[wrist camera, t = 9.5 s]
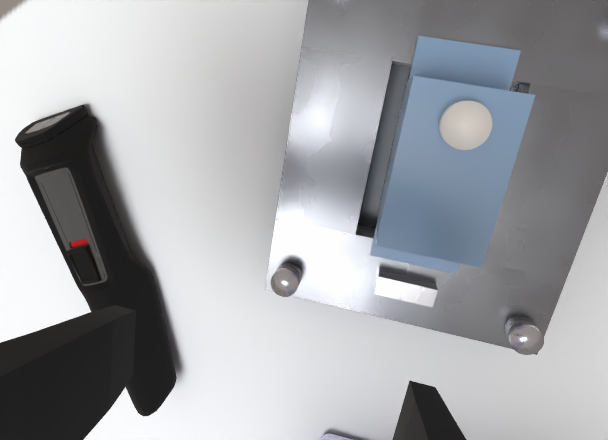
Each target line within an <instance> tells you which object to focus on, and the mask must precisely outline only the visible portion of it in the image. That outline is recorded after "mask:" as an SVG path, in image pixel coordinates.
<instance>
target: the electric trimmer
mask: <svg viewBox="0 0 608 440" xmlns="http://www.w3.org/2000/svg"><path fill="white" fill-rule="evenodd" d="M86 114H87V111H86V109H85V107H84V105H81V106H78V107H75V108H72V109H69V110H66V111H64V112H61V113H58V114H55V115H52V116H49V117H46V118H43V119H41V120H38V121H36V122H33V123H31V124H30V125H28V126H27V127H25V128H24V129H23V130H22V131H21V132H20V133H19V134H18V135H17V137H16V139H15V142H16V143H17V144H18V145H19V146H20V147H22V151H21V161H20V166H21V168H22V170H23V172H24V174H25V175H26V177H27V180H28V182H29V184H30V186H31V189H32V191H33V193H34V195H35V197H36V199H37V201H38V203H39V206H40V208H41V210H42V212H43V214H44V216H45V218H46V220H47V223H48V225H49V227H50V229H51V231H52V233H53V235H54V238H55V240H56V242H57V244H58V246H59V248H60V250H61V252H62V255H63V257H64V259H65V261H66V263H67V265H68V267H69V269H70V272H71V274H72V276H73V278H74V280H75V282H76V284H77V286H78V288H79V289H80V291H81V293H82V294H83V296H84V297H85V299H86V301H87V303H88V305H89V307H90V310H91V312H94V311H97V310H100V309H103V308H106V307H110V306H114V305H117V306H121V307H125V308H129V309H132V310H136V324H135V344H134V363H133V376H132V377H131V379H130V380H129V382H128V383H127V385H126V386H125V387H126V389H127V391H128V393H129V395H130V398H131V400H132V402H133V404H134V406H135V408H136V410H137V411H138V413H139V414H140V415H142V416H149V415H151V414H152V413H154V412H155V411H157V409H158V408H159V407H160V406H161V405H162V403H163V402H164V401H165V399H166V398H167V396H168V395H169V393H170V392H171V390H172V389H173V388H174V385H175V382H176V373H175V368H174V363H173V359H172V355H171V351H170V346H169V342H168V338H167V334H166V329H165V325H164V321H163V317H162V312H161V308H160V304H159V300H158V296H157V292H156V289H155V285H154V281H153V277H152V275H151V273H150V271H149V270H148V269H147V268H145V267H144V266H143V265H142V264H140V263H139V262H138V261H137V260H135V259H134V258H132V254H131V252H130V249H129V246H128V244H127V241H126V238H125V235H124V233H123V230H122V227H121V224H120V222H119V219H118V216H117V214H116V211H115V208H114V205H113V203H112V200H111V197H110V195H109V192H108V189H107V186H106V184H105V181H104V178H103V175H102V173H101V170H100V167H99V165H98V162H97V159H96V156H95V154H94V151H93V148H92V146H91V141H92V138H93V135H94V133H95V130H96V128H97V122H96V118H94V117H91V116H88V115H86ZM64 130H65V131H64Z"/></svg>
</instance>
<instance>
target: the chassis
mask: <svg viewBox="0 0 608 440" xmlns="http://www.w3.org/2000/svg"><path fill="white" fill-rule="evenodd" d="M418 36H425V37H432V38H438V39H445V40H452V41H459V42H466V43H472V44H479V45H486V46H493V47H500V48H507V49H513V50H520V51H521V52H520V56H519V59H518V63H517V66H516V69H515V73H514V76H513V80H512V83H513V84H519V86H518V89H517V92H520V93H526V94H532V95H535V98H534V102H533V105H532V108H531V111H530V114H529V118H528V121H527V124H526V127H525V131H524V134H523V137H522V140H521V144H520V147H519V150H518V153H517V156H516V160H515V163H514V166H513V169H512V173H511V176H510V179H509V182H508V185H507V189H506V192H505V195H504V198H503V202H502V205H501V208H500V211H499V215H498V218H497V221H496V224H495V227H494V231H493V234H492V237H491V240H490V244H489V247H488V250H487V253H486V257H485V260H484V263H483V266H482V268H479V267H474V266H470V265H465V264H460V263H459V265H458V269H457V272H456V274H454V273H450V272H445V271H440V270H436V269H431V268H426V267H422V266H417V265H413V264H408V263H403V262H399V261H394V260H389V259H385V258H380V257H376V256H371V255H370V251H371V247H372V242H373V238H374V233H375V228H370V227H366V226H361V225H358V220H359V216H360V211H361V206H362V202H363V197H364V192H365V188H366V183H367V178H368V174H369V169H370V164H371V160H372V155H373V150H374V146H375V141H376V136H377V132H378V127H379V122H380V118H381V113H382V108H383V103H384V99H385V94H386V89H387V85H388V80H389V75H390V71H391V66H392V64H396V65H402V66H409V67H411V66H412V61H413V57H414V52H415V48H416V43H417V39H418ZM607 172H608V0H309V2H308V9H307V15H306V22H305V28H304V35H303V42H302V48H301V55H300V61H299V68H298V74H297V81H296V88H295V94H294V101H293V107H292V114H291V121H290V127H289V134H288V140H287V147H286V153H285V160H284V167H283V173H282V180H281V186H280V193H279V200H278V206H277V213H276V219H275V226H274V233H273V239H272V246H271V252H270V259H269V265H268V272H267V279H266V285H265V290H269V291H274V292H275V293H276V294H278V295H280V296H283V297H288V296H294V297H299V298H303V299H307V300H311V301H315V302H319V303H324V304H328V305H332V306H336V307H340V308H344V309H349V310H353V311H357V312H361V313H365V314H369V315H374V316H378V317H382V318H386V319H390V320H394V321H399V322H403V323H407V324H411V325H415V326H419V327H424V328H428V329H432V330H436V331H440V332H444V333H449V334H453V335H457V336H461V337H465V338H469V339H474V340H478V341H482V342H486V343H490V344H494V345H499V346H503V347H507V348H511V349H514V350H515V351H517V352H518V353H520V354H524V355H530V354H536V355H537V354H538V351H539V350H540V349H541V348H542V346H543V344H544V335H545V333H546V330H547V328H548V325H549V322H550V320H551V317H552V315H553V312H554V309H555V307H556V304H557V302H558V299H559V296H560V294H561V291H562V289H563V286H564V283H565V281H566V278H567V276H568V273H569V270H570V268H571V265H572V263H573V260H574V257H575V255H576V252H577V250H578V247H579V245H580V242H581V239H582V237H583V234H584V232H585V229H586V226H587V224H588V221H589V219H590V216H591V213H592V211H593V208H594V206H595V203H596V200H597V198H598V195H599V193H600V190H601V187H602V185H603V182H604V180H605V177H606V174H607Z"/></svg>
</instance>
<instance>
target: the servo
mask: <svg viewBox="0 0 608 440" xmlns="http://www.w3.org/2000/svg"><path fill="white" fill-rule="evenodd" d="M520 52H521V51H520V50H513V49H507V48H500V47H493V46H486V45H479V44H472V43H466V42H459V41H452V40H445V39H438V38H432V37H425V36H418V39H417V43H416V48H415V52H414V57H413V61H412V66H411V70H410V75H409V79H408V81H407V82H406V87H405V91H404V96H403V100H402V105H401V109H400V114H399V119H398V123H397V128H396V132H395V137H394V141H393V146H392V150H391V155H390V159H389V164H388V168H387V173H386V177H385V182H384V187H383V191H382V196H381V200H380V205H379V210H378V219H377V224H376V228H375V233H374V238H373V242H372V247H371V251H370V255H371V256H376V257H380V258H385V259H389V260H394V261H399V262H403V263H408V264H413V265H417V266H422V267H426V268H431V269H436V270H440V271H445V272H450V273H454V274H456V272H457V269H458V265H459V263H460V264H465V265H470V266H474V267H479V268H482V266H483V263H484V260H485V257H486V253H487V250H488V247H489V244H490V240H491V237H492V234H493V231H494V227H495V224H496V221H497V218H498V215H499V211H500V208H501V205H502V202H503V198H504V195H505V192H506V189H507V185H508V182H509V179H510V176H511V173H512V169H513V166H514V163H515V160H516V156H517V153H518V150H519V147H520V144H521V140H522V137H523V134H524V131H525V127H526V124H527V121H528V118H529V114H530V111H531V108H532V105H533V102H534V98H535V95H532V94H526V93H520V92H513V91H509V90H510V87H511V83H512V80H513V76H514V73H515V69H516V66H517V63H518V59H519V56H520Z"/></svg>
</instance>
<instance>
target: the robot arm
mask: <svg viewBox="0 0 608 440" xmlns="http://www.w3.org/2000/svg"><path fill="white" fill-rule="evenodd" d="M135 324H136V310H132V309H129V308H125V307H121V306H117V305H114V306H110V307H106V308H103V309H100V310H97V311H94V312H91V313H88V314H85V315H82V316H79V317H76V318H73V319H70V320H68V321H65V322H62V323H59V324H56V325H53V326H50V327H48V328H45V329H42V330H39V331H36V332H33V333H30V334H27V335H24V336H21V337H17V338H14V339H11V340H8V341H5V342H1V343H0V440H83V439H84V438H85V437H86V436H87V435H88V434H89V432H90V431H91V430H92V429H93V428H94V427H95V426H96V424H97V423H98V422H99V421H100V420H101V419H102V418H103V416H104V415H105V414H106V413H107V412H108V411H109V409H110V408H111V407H112V405H113V404H114V402H115V401H116V400H117V398H118V397H119V395H120V394H121V393H122V391H123V389H124V388H125V386H126V385H127V383H128V382H129V380H130V379H131V377H132V376H133V363H134V344H135ZM321 440H352V439H348V438H345V437H341V436H338V435H334V434H325V435H324V436H323V437H322V439H321ZM393 440H466V438H465V437H464V435H463V433H462V432H461V430H460V428H459V427H458V425H457V423H456V422H455V420H454V418H453V417H452V415H451V413H450V412H449V410H448V408H447V406H446V405H445V403H444V401H443V399H442V398H441V396H440V394H439V393H438V391H437V389H436V388H435V387H432V386H428V385H424V384H421V383H417V382H413V381H409V385H408V388H407V392H406V395H405V399H404V402H403V406H402V409H401V413H400V416H399V420H398V423H397V427H396V430H395V434H394V437H393Z"/></svg>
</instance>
